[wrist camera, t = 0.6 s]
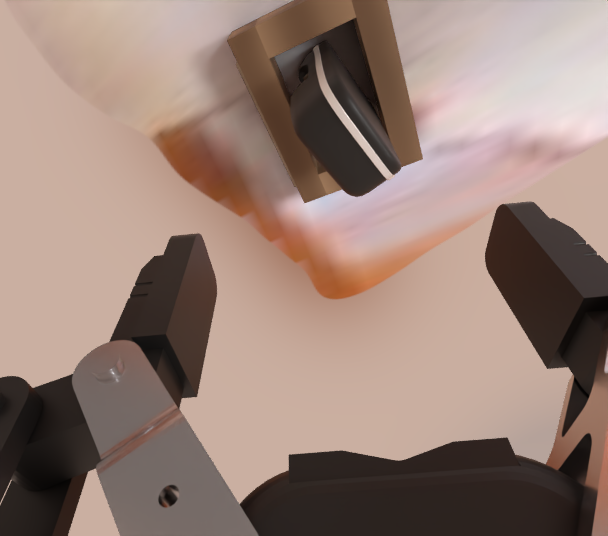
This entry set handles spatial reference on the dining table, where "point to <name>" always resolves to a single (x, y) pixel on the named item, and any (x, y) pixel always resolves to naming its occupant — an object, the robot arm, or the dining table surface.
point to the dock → (276, 99)
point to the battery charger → (341, 124)
